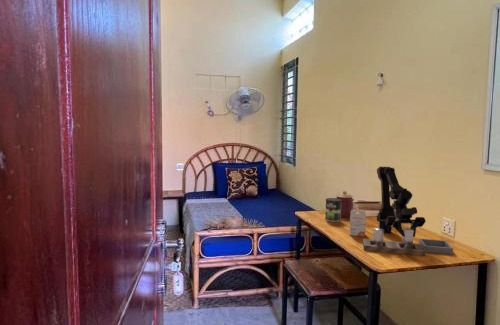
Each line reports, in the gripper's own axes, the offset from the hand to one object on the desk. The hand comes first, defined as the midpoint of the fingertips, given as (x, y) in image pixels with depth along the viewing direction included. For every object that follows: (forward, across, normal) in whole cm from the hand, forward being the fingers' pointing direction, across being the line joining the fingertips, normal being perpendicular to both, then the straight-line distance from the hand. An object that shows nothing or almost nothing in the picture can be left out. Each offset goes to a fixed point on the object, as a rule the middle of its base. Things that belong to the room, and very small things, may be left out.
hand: (408, 236), depth 175 cm
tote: (+2, +16, +10) cm, 19 cm away
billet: (+2, -14, +9) cm, 16 cm away
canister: (-47, -15, +59) cm, 77 cm away
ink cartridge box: (-14, -18, +25) cm, 34 cm away
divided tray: (+4, -7, +8) cm, 11 cm away
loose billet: (+4, 0, +6) cm, 7 cm away
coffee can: (-37, -26, +49) cm, 67 cm away
